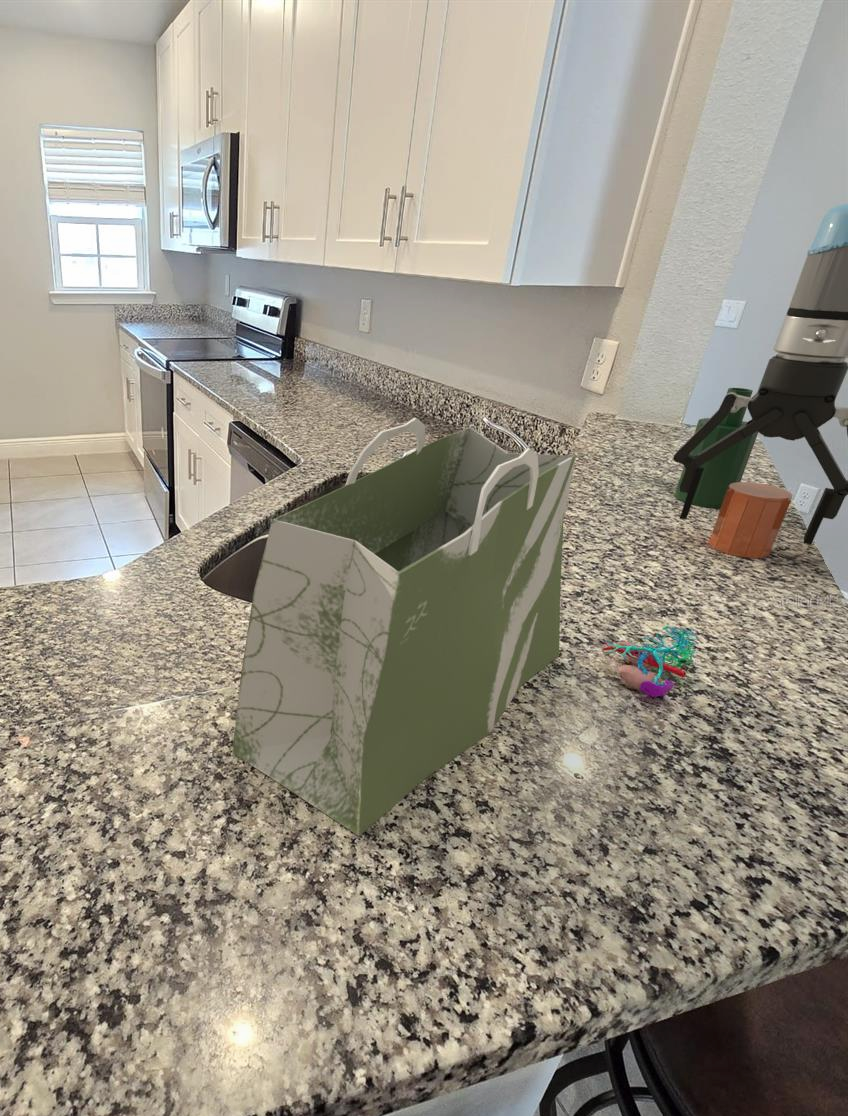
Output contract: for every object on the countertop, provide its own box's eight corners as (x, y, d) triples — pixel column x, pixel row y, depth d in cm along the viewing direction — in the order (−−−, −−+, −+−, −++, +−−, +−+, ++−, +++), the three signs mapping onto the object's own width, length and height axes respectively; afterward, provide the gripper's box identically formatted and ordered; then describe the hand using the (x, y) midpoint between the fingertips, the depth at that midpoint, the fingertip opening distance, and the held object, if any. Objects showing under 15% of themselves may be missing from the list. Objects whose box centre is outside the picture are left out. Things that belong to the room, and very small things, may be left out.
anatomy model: (594, 635, 59) (684, 655, 54) (621, 605, 64) (704, 620, 60) (588, 686, 61) (674, 709, 56) (614, 653, 66) (694, 671, 62)
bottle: (733, 498, 106) (773, 389, 99) (729, 511, 101) (771, 396, 93) (678, 488, 111) (712, 383, 103) (671, 501, 105) (706, 390, 97)
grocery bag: (375, 847, 43) (421, 508, 32) (226, 748, 52) (223, 454, 41) (565, 658, 64) (632, 412, 53) (436, 609, 72) (470, 389, 62)
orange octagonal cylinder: (769, 546, 89) (793, 488, 85) (767, 562, 84) (792, 502, 80) (711, 534, 92) (731, 478, 89) (706, 549, 88) (726, 491, 84)
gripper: (683, 350, 81) (633, 514, 91) (961, 373, 68) (867, 562, 78) (691, 344, 86) (642, 499, 96) (950, 365, 73) (863, 542, 83)
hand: (743, 528), depth 87 cm, fingers open, 13 cm apart
